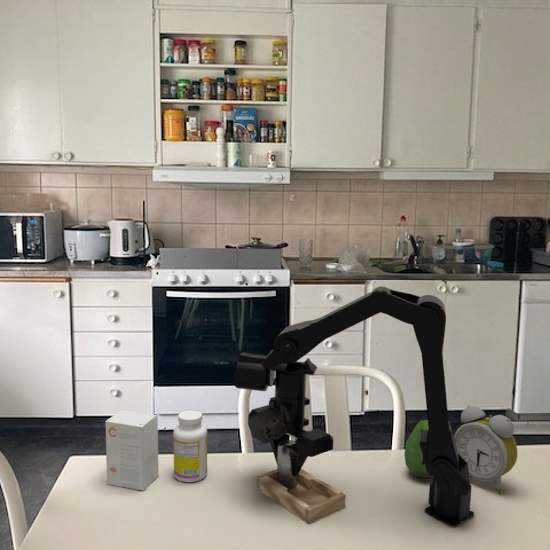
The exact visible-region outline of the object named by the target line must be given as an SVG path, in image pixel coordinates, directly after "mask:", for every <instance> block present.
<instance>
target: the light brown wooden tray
mask: <svg viewBox="0 0 550 550" xmlns="http://www.w3.org/2000/svg"><path fill="white" fill-rule="evenodd" d="M256 489H257V490H258V491H259V492H260V493H262V494H263V495H265V496H267V497H268V498H270V499H272V500H273V501H274V502H276V503H277V504H278V505H280V506H282V507H283V508H284V509H286V510H288V512H290V513H292V514H294V515H295V516H297V518H299V519H301V520H303V521H304V522H305V523H307V524H309V525H310V524H311V523H314V522H315V521H318V520H321V519H322V518H325V517H327V516H329V515H331V514H333V513H336V512H339V510H342V509H344V508H346V500H347V498H346V493H344V492H342V491H341V490H339V489H337V488H336V487H333V486H332V485H331V484H328V483H326V482H325V481H323V480H321V479H320V478H318V477H316V476H315V475H313V474H311V473H309V472H308V471H306V470H304V469H302V468H301V470H300V472H299V474H298V484H297V486H296V487H295V488H291V489H287V488H286V487H284V486H283V485H281V484H280V483H278V482H277V468H276V469H274V470H270V471H268V472H265V473H262V474H259V475H257V476H256Z"/></svg>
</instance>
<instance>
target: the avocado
mask: <svg viewBox="0 0 550 550" xmlns="http://www.w3.org/2000/svg"><path fill="white" fill-rule="evenodd" d="M427 428H428V419H422V420H419V422H418V423H417V424H416V425H415V426H414V429H412V431H411V433H410V435H409V436H408V438H407V441H406V443H405V448H404V455H403V456H404V461H405V462H404V463H405V466H406V467H407V469H408V471H409V472H410V473H411V474H412V475H414V476H416V477H417V478H422V479H424V478H432V476H431V475H429V474H428V473H427V471H426V467H425V464H424V465H421V447H420V429H422V430H427Z"/></svg>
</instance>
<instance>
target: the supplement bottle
mask: <svg viewBox="0 0 550 550" xmlns="http://www.w3.org/2000/svg"><path fill="white" fill-rule="evenodd" d="M177 421H178V425H177V426H176V427H174V429H173V435H172V436H173V476H174V477H175V479H176V480H178V481H180V482H184V483H194V482H195V483H196V482H199V481H201V480H202V479H204V478H206V476H207V473H208V429H207V428H206V426H205V424H203V423H202V422H203V414H202V412H201V411H198V410H185V411H182V412H180V413H178V417H177Z"/></svg>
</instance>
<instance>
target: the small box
mask: <svg viewBox="0 0 550 550" xmlns="http://www.w3.org/2000/svg"><path fill="white" fill-rule="evenodd" d="M158 417H159V416H158V414H153V413H146V412H139V411H133V410H127V409H125V410H124V409H121V410H120V411H118V412H117V413H116V414H114V415H112V416H111V417H110V418H108V419H106V420H105V422H104V423H105V448H106V450H105V452H106V453H105V455H106V458H105V459H106V485H111V486H116V487H123V488H128V489H131V490H136V491H137V490H138V491H145V490H146V488H148V487H149V486H150V485H151V484H152V483H154V481H155V480H156V479H157V478H158V477H159V476H160V475H159V471H160V470H159V428H158V427H159V426H158V425H159V423H158V422H159V421H158Z"/></svg>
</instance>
